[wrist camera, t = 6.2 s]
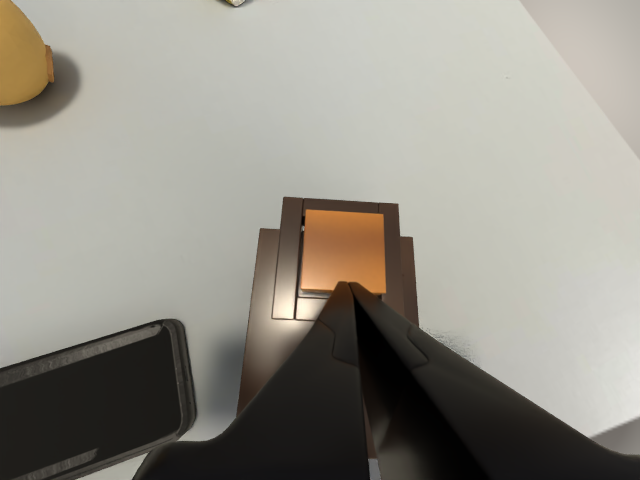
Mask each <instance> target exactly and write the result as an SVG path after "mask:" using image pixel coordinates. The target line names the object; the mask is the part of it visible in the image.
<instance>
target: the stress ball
mask: <svg viewBox="0 0 640 480" xmlns="http://www.w3.org/2000/svg"><path fill="white" fill-rule="evenodd" d="M48 81H49V82H52V83H53V82H54V72H53V59H52V51H51V48H50V46H48V45H45V44H44V42H43V40H42V38H41V36H40V35H39V33H38V31H37V30H36V29H35V27H34V26H33V24H32V23H31V22H30V20H29V19H28V18H27V17H26V16H25V14H24V13H23V12H22V11H21V10H20V9H19V8H18V7H17V6H16V5H15V4H14V3H13V2H12V1H11V0H0V105H13V104H18V103H22V102H25V101H28V100H30V99H32V98H34V97H35V96H37V95H38V94H40V93H41V92H42V91H43V90H44V88H45V87H46V85H47V83H48Z"/></svg>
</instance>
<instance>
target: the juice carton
mask: <svg viewBox="0 0 640 480" xmlns="http://www.w3.org/2000/svg"><path fill="white" fill-rule="evenodd" d="M225 1H227V2H229V3H231V4H232V5H234V6H238V5H240V4H241V3H243V2H244V1H245V0H225Z"/></svg>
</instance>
